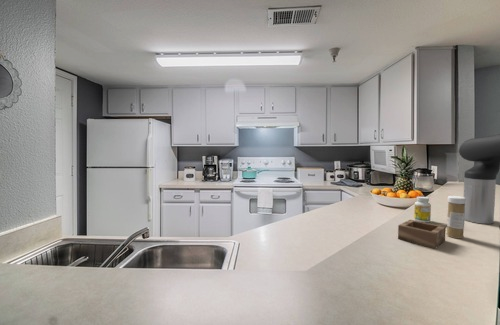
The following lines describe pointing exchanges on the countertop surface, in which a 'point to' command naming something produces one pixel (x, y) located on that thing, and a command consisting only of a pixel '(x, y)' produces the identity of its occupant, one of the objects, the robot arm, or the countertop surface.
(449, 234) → the sprinkles bottle
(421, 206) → the supplement bottle
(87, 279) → the countertop surface
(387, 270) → the countertop surface
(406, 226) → the box
